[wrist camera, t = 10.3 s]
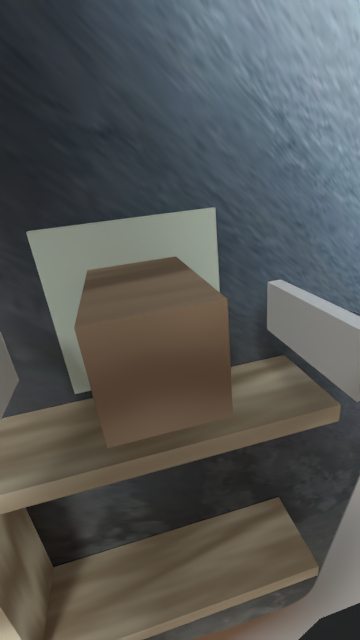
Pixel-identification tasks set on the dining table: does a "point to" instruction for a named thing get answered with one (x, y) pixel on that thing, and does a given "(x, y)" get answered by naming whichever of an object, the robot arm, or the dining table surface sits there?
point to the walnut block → (154, 349)
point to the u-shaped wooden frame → (160, 550)
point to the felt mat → (115, 262)
